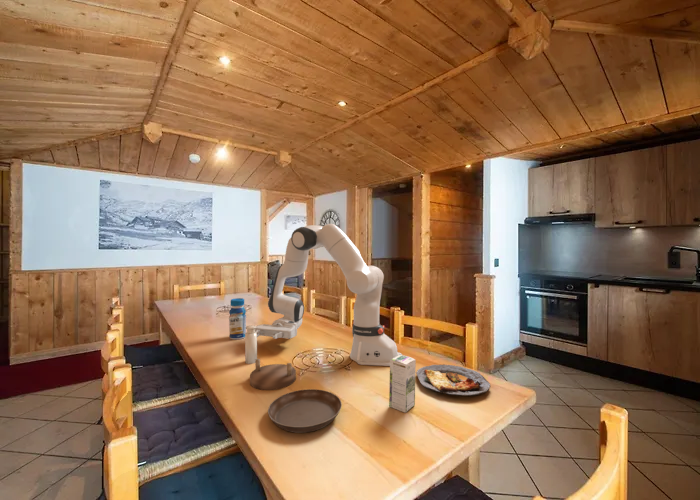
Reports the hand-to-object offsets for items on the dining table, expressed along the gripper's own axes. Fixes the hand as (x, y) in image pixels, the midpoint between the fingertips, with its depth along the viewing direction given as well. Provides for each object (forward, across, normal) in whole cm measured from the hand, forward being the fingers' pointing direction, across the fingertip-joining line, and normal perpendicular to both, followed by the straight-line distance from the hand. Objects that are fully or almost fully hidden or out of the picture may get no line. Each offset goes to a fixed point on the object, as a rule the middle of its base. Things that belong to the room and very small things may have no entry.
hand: (264, 335), depth 139 cm
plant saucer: (+39, +40, +9) cm, 56 cm away
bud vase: (+10, 0, +8) cm, 13 cm away
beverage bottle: (-16, -27, +8) cm, 33 cm away
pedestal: (+22, +18, +8) cm, 29 cm away
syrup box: (+26, +65, +8) cm, 70 cm away
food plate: (+5, +79, +9) cm, 80 cm away
